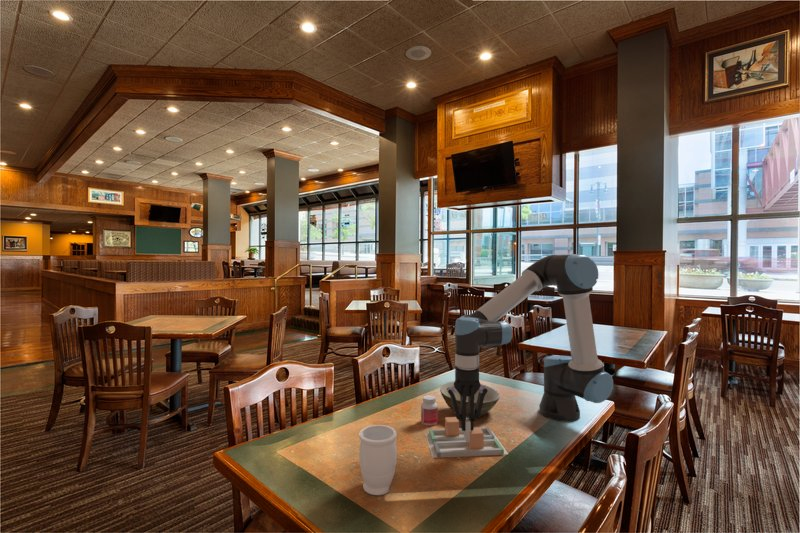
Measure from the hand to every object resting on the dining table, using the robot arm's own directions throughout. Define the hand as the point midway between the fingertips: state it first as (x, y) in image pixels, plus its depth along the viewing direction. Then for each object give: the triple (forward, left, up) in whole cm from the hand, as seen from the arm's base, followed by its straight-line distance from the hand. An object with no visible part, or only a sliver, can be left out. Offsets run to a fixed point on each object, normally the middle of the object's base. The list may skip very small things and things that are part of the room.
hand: (467, 440), depth 122 cm
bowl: (-9, -31, -5) cm, 33 cm away
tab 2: (-3, 0, -3) cm, 4 cm away
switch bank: (0, -4, -5) cm, 7 cm away
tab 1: (+3, -9, -3) cm, 10 cm away
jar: (+29, +15, -5) cm, 33 cm away
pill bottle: (+9, -21, -5) cm, 24 cm away
